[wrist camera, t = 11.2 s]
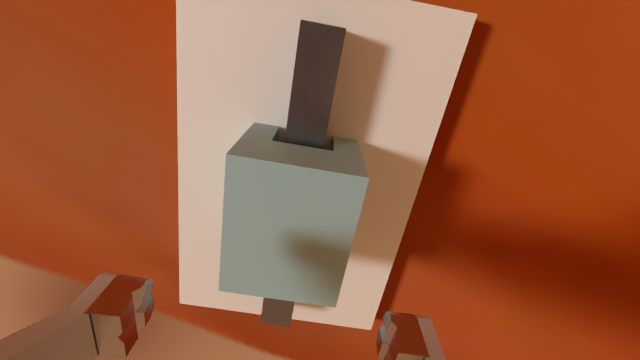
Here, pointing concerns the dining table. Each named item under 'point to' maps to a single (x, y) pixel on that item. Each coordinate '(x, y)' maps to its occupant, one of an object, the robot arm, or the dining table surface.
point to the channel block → (289, 216)
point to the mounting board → (345, 121)
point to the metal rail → (309, 112)
